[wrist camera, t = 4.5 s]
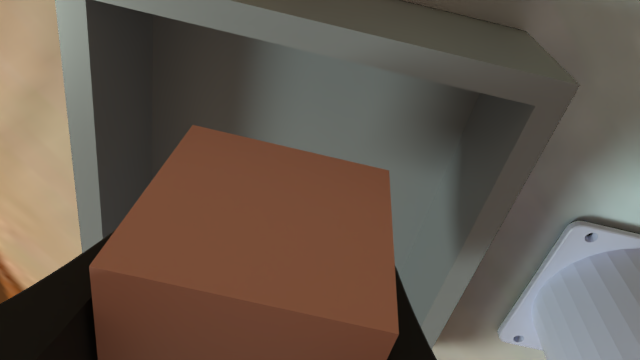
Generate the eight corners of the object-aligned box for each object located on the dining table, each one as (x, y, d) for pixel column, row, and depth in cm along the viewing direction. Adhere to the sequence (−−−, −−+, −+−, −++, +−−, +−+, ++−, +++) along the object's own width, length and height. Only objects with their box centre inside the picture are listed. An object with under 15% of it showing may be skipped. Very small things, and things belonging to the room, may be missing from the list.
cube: (389, 170, 12) (398, 333, 7) (342, 303, 14) (330, 477, 10) (192, 124, 11) (89, 266, 7) (183, 267, 14) (104, 430, 10)
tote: (525, 31, 16) (579, 84, 12) (382, 343, 26) (384, 432, 22) (137, -65, 15) (50, -44, 11) (141, 290, 25) (95, 372, 21)
